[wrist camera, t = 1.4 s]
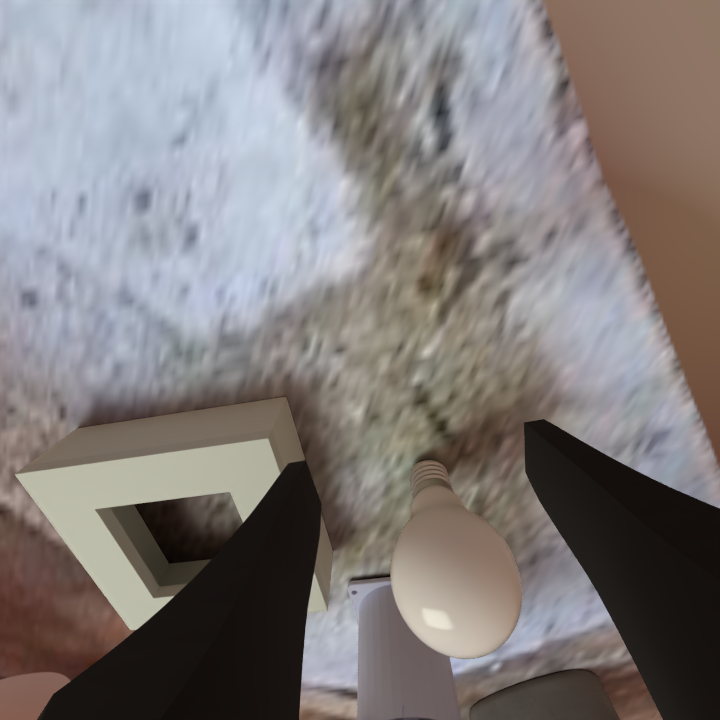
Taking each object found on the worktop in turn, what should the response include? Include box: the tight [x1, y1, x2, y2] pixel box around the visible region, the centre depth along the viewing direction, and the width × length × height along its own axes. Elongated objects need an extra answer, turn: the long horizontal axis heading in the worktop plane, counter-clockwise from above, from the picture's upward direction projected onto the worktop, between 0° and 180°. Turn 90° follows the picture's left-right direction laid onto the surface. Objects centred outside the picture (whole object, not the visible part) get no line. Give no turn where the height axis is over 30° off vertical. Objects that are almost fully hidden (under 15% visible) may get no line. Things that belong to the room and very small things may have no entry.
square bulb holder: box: [15, 397, 333, 630], centre depth 23 cm, size 15×15×4 cm
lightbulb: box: [390, 460, 522, 659], centre depth 19 cm, size 6×6×11 cm
